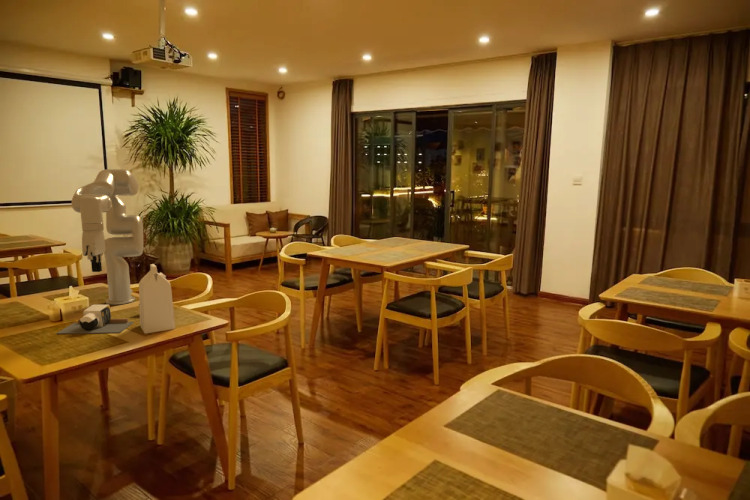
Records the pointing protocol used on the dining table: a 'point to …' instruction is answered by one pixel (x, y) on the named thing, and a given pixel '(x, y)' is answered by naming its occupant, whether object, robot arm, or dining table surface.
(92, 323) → the medicine bottle
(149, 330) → the milk
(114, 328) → the tipping mat
